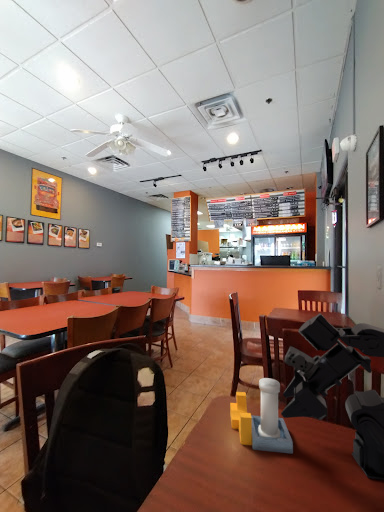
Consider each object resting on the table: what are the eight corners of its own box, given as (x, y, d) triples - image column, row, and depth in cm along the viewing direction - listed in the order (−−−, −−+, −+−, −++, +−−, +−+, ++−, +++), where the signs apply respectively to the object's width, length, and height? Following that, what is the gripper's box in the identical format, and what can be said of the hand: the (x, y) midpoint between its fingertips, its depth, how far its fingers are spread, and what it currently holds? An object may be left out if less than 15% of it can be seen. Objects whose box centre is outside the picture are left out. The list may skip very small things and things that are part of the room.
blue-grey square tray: (283, 427, 64) (282, 418, 64) (292, 453, 55) (292, 442, 55) (248, 424, 65) (248, 415, 65) (252, 449, 56) (252, 438, 56)
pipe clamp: (230, 414, 70) (230, 391, 70) (245, 415, 69) (245, 392, 70) (233, 444, 58) (233, 416, 58) (251, 445, 57) (251, 418, 58)
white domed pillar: (281, 433, 61) (281, 380, 61) (278, 446, 56) (278, 389, 57) (260, 426, 63) (261, 376, 64) (256, 438, 59) (256, 384, 59)
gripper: (303, 329, 66) (263, 364, 70) (306, 350, 49) (253, 394, 53) (337, 362, 63) (293, 397, 66) (353, 397, 46) (292, 441, 49)
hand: (283, 405), depth 59 cm, fingers open, 9 cm apart
